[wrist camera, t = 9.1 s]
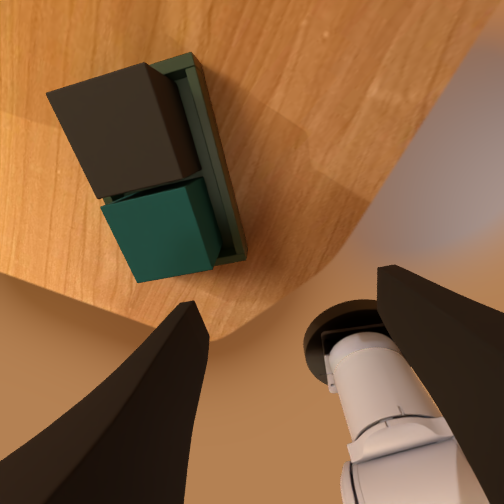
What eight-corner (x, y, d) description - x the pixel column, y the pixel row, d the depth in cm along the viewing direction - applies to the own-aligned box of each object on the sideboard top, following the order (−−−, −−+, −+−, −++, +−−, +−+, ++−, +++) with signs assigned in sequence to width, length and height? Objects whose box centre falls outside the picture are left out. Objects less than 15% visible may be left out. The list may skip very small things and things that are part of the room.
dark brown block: (202, 169, 16) (183, 178, 12) (134, 186, 17) (96, 199, 13) (176, 82, 14) (144, 61, 10) (100, 104, 15) (44, 92, 11)
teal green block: (223, 242, 18) (212, 269, 15) (162, 254, 19) (137, 283, 15) (203, 176, 16) (185, 187, 13) (136, 192, 17) (99, 206, 13)
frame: (248, 249, 19) (246, 260, 17) (152, 267, 20) (141, 280, 18) (200, 62, 14) (191, 51, 12) (77, 100, 15) (52, 94, 13)
